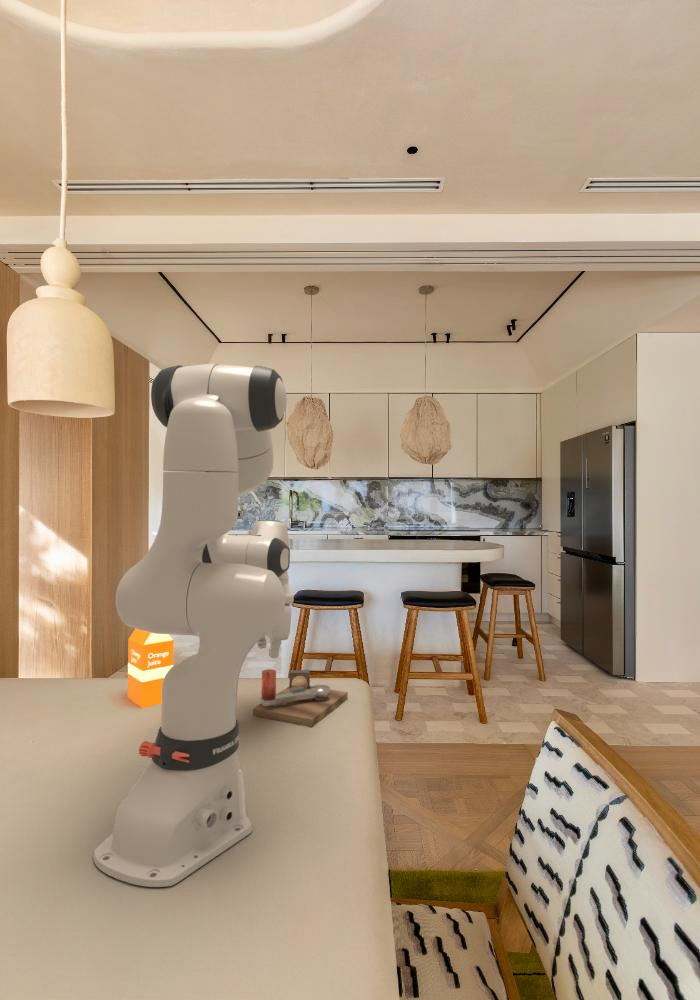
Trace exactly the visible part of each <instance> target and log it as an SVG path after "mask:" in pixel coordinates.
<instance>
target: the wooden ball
mask: <svg viewBox="0 0 700 1000" xmlns="http://www.w3.org/2000/svg"><path fill="white" fill-rule="evenodd" d="M291 686H292V687H298V686H302V687H304V688H305V690H306V688H307V686H308V682H307V680H306V678H305V677H303V676H296V677H295V678H294V679H293V680H292V683H291Z"/></svg>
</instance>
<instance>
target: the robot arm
mask: <svg viewBox="0 0 700 1000" xmlns="http://www.w3.org/2000/svg"><path fill="white" fill-rule="evenodd" d="M287 398H288V397H287V391H286V388H285V385H284V381H283V379H282V376H281V375H280V374H279V373H278V372H277V370H275V369H274V368H271V367H266V366H261V365H254V366H253V367H252V366H245V365H233V364H232V365H231V364H220V363H205V364H204V363H203V364H195V365H186V366H183V365H174V366H169V367H168V366H167V367H165V368H163V369H161V370H159V372H158V373H157V375H156V376H154V379H153V381H152V384H151V389H150V400H151V401H150V402H151V407H152V410H153V413H154V415H155V417H156V418H157V420H158V421H159V422H160V423H161V425H162V426H163V427H165V428H166V432H165V439H164V448H163V459H162V461H163V462H162V471H163V472H162V502H161V503H162V505H161V514H160V515H161V516H160V524H159V527H158V529H157V534H156V536H155V538H154V540H153V543H152V544H151V546H150V548H149V549H148V551H147V552H146V554H145V555H144V556H143V557H142V558H141V559H140V560H139V561H137V563H136V564H134V565H132V566H131V568H129V569H128V570H127V571H126V572H125V573H124V575H123V576H122V577H121V579H120V581H119V583H118V585H117V586H116V587H117V589H116V592H115V608H116V611H117V614H118V616H119V618H120V620H121V621H122V623H123V624H124V625H125V626H127V627H129V628H131V629H134V630H135V629H139V630H142V631H146V632H150V633H154V634H169V635H170V636H171V635H174V636H175V635H176V636H195V637H198V640H199V645H198V650H197V653H195V654H192V655H191V656H188V657H186V658H184V659H182V660H180V661H179V662H177V663H176V664H173V667H172V668H171V669H170V670H169V671H168V672H167V674H166V675H165V677H164V680H163V683H162V703H161V715H160V721H161V722H160V727H159V729H158V731H157V735H156V736H155V737H156V738H155V741H154V742H151V741H148V740H143V741H142V742H141V743H140V745H139V747H138V755H140V756H141V757H148V758H149V759H151V761H150V762H149V763H148V765H147V766H146V767H145V769H144V770H143V772H142V774H141V775H140V776H139V778H138V779H137V781H136V782H135V783H134V785H132V788H131V789H130V791H129V792H128V793H127V795H126V796H125V797H124V799H123V800H122V802H121V803H120V804H119V806H118V807H117V810H116V813H115V816H114V821H113V828H112V829H113V830H112V833H111V834H110V835H108V836H107V837H106V838H105V839H104V840H103V841H102V842H101V843H100V844H99V845H98V846H96V848H95V849H94V850H93V855H92V859H93V863H94V864H95V866H96V867H97V868H98V869H99V870H100V871H101V872H103V873H104V874H106V875H107V876H110V877H112V878H115V879H116V880H119V881H122V882H125V883H128V884H131V885H136V886H139V887H141V886H142V887H148V888H149V887H150V888H162V887H163V888H164V887H172V886H174V885H175V884H177V883H179V882H180V881H182V880H183V879H185V878H186V877H187V876H189V875H191V874H192V873H194V872H195V871H196V870H199V868H201V867H203V866H205V864H207V863H209V862H210V861H212V860H213V859H214V858H216V857H218V856H219V855H221V854H222V853H224V852H225V851H227V849H230V848H231V847H232V846H234V845H235V844H236V843H239V842H240V841H241V840H242V839H244V838H245V837H247V836H248V835H250V834H251V833H252V831H253V828H252V822H251V820H250V818H249V816H248V815H247V806H246V797H245V796H246V795H245V794H246V793H245V784H244V783H245V782H244V773H243V769H242V768H241V767H242V766H241V764H240V761H239V758H238V752H237V751H238V749H239V746H240V736H241V735H240V729H239V728H240V727H239V721H238V719H237V703H238V702H237V700H238V689H239V679H240V674H241V670H242V667H243V664H244V663H245V660H246V658H247V656H248V654H249V653H250V652H251V650H252V649H253V648H254V647H255V645H256V646H257V648H259V649H266V648H267V640H266V637H267V638H269V642H270V647H269V648H268V656H269V657H270V658H271V659H277V658H279V654H280V653H279V652H280V651H279V650H280V647H281V644H282V641H287V640H288V639H289V637H290V633H291V626H292V625H291V624H292V605H293V603H294V600H295V599H294V593H293V591H292V590H291V588H290V584H289V579H290V578H289V574H288V573H289V572H288V570H289V569H290V560H291V559H290V557H291V550H290V546H289V545H290V542H289V533H288V526H287V524H286V523H284V522H283V521H280V520H275V519H260V520H257V521H255V522H254V523H253V526H252V531H251V535H231V534H229V532H230V531H231V530H232V529H233V528H234V526H235V525H236V524H237V520H238V517H239V496H242V495H246V494H249V493H251V492H253V491H255V490H257V489H259V487H261V486H262V485H263V484H264V483H265V482H266V481H268V479H269V477H270V476H271V474H272V472H273V469H274V449H273V447H274V446H273V440H272V434H271V430H272V429H274V428H276V427H277V426H278V425H280V423H281V422H282V421H283V420H284V415H285V412H286V408H287V400H288V399H287Z"/></svg>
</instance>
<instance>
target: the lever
mask: <svg viewBox="0 0 700 1000" xmlns="http://www.w3.org/2000/svg"><path fill="white" fill-rule="evenodd" d="M311 686H312V685H311ZM330 689H331V688H330V686H329V685H326V684H316V685H313V686H312V687H311V689H309V690H305V688H304V687H302V686H298V687H292V688H290V693H285V694H278V695H276V694H277V671H276V670H275V669H270V668H269V669H265V670H261V697H260V698H259V699H260V700H259V701H260V702H259V704H262V705H263V706H268V705H274V704H280V703H286V702H292V701H297V700H303V699H309V698H315V697H316V698H325V697H328V696H329V695H330Z"/></svg>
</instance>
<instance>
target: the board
mask: <svg viewBox="0 0 700 1000" xmlns="http://www.w3.org/2000/svg"><path fill="white" fill-rule="evenodd" d="M310 675H311V672H310V670H309V669H305V670H303V669H301V670H300V669H298V670H297V669H296V670H294V669H292V670H291V669H290V670H289V684H288V685H289V686H287V687H286V688H284V689H283V690H281V691H280V692H278V693H277V692H276V695H278V694H285V693H290V688H292V686H291V683H292V680H293V679H294V678H295V677H296V676H303V677H305V678H306V680H307V682H308V686H307V688H306V690H309V689H311V687H312V685H310V682H311V681H310V679H311V678H310V677H311V676H310ZM348 693H349V692H347V691H342V690H336V689H331V688H330V695H329V696H328V697H325V698H316V697H315V698H309V699H303V700H297V701H292V702H286V703H280V704H274V705H268V706H263V705H262V704H261V703H259V704H258V705H256V706H254V707H253V708H252V716H253V717H260V718H264V719H269V720H270V719H271V720H274V721H280V722H285V723H289V724H295V725H299V726H303V727H310V728H313V727H314V726H315V725H317V724H318V723H319V722H320V721H322V720H323V719H324V718H326V717H327V716H328V715H329V714H330V713H332V712H333V711H334V710H336V709H337V708H338V707H340V706H341V704H343V703H344V702H346V701H347V700H348V699H349V698H348V695H349V694H348Z"/></svg>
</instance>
